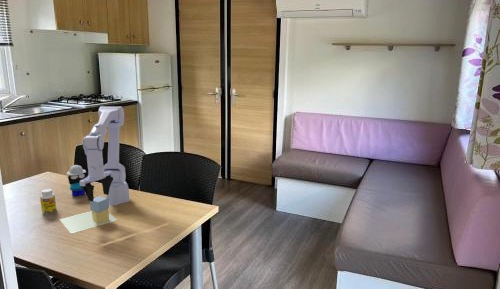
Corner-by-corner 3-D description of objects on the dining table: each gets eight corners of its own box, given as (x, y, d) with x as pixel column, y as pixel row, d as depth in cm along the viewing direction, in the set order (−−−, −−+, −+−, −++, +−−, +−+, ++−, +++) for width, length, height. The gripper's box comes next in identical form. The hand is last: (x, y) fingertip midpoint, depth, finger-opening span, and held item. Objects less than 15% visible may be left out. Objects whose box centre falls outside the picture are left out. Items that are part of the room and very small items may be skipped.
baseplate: (103, 209, 165) (103, 207, 165) (117, 221, 154) (117, 220, 154) (59, 220, 154) (59, 219, 154) (71, 235, 142) (71, 233, 142)
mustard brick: (104, 215, 157) (103, 205, 156) (109, 219, 154) (108, 209, 153) (92, 219, 154) (91, 209, 153) (96, 223, 151) (95, 213, 149)
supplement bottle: (43, 216, 158) (39, 193, 155) (41, 211, 162) (38, 189, 160) (57, 213, 161) (54, 191, 158) (56, 209, 165) (53, 187, 163)
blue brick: (100, 205, 156) (99, 195, 155) (109, 208, 154) (108, 198, 153) (90, 210, 152) (89, 199, 151) (99, 212, 150) (98, 202, 149)
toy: (69, 199, 175) (65, 169, 172) (68, 193, 183) (65, 163, 179) (89, 196, 179) (86, 166, 175) (87, 190, 187) (84, 161, 183)
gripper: (103, 159, 156) (105, 189, 160) (72, 168, 144) (76, 201, 147) (115, 161, 153) (118, 192, 156) (85, 171, 141) (89, 205, 144)
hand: (98, 197), depth 152 cm, fingers open, 7 cm apart
